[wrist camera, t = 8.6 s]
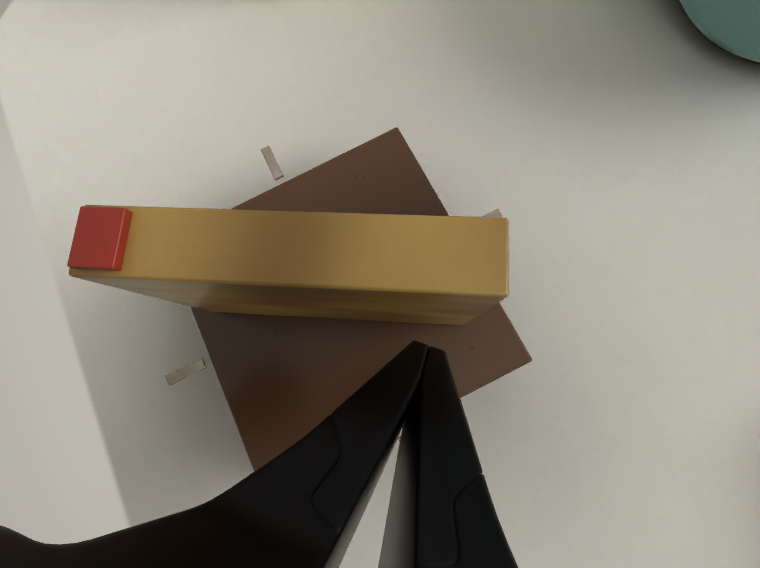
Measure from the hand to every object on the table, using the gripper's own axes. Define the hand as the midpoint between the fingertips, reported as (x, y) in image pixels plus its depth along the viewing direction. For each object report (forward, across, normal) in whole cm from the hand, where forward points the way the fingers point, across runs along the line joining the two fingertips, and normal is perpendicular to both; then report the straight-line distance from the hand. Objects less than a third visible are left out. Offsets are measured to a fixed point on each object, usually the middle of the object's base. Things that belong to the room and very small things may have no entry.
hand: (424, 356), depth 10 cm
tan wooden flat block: (+3, +4, +2) cm, 5 cm away
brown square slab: (+5, +4, +4) cm, 7 cm away
